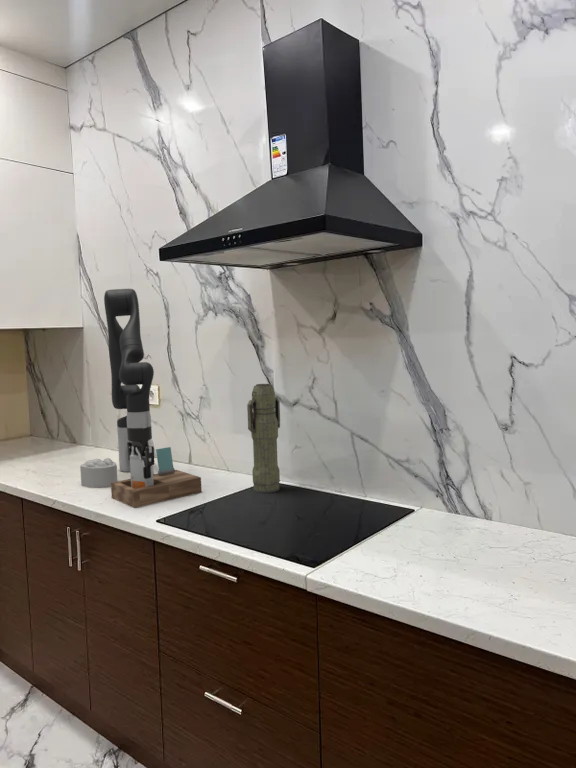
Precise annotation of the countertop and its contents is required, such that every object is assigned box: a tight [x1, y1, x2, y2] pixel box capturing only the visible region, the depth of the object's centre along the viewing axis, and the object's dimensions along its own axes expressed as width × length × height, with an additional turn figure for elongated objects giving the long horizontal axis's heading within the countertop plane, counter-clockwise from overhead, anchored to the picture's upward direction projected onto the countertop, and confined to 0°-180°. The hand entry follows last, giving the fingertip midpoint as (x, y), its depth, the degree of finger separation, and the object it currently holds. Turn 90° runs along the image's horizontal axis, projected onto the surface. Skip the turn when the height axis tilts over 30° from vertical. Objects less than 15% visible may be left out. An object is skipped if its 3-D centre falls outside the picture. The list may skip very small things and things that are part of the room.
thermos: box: [246, 383, 281, 494], centre depth 191 cm, size 9×12×35 cm
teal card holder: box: [155, 446, 176, 476], centre depth 196 cm, size 9×6×2 cm
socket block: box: [110, 469, 203, 509], centre depth 190 cm, size 16×24×5 cm, turn 131°
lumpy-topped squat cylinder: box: [79, 457, 118, 489], centre depth 206 cm, size 10×13×9 cm
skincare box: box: [129, 454, 154, 489], centre depth 186 cm, size 6×4×12 cm
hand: (141, 476), depth 186 cm, fingers closed on skincare box, 7 cm apart
